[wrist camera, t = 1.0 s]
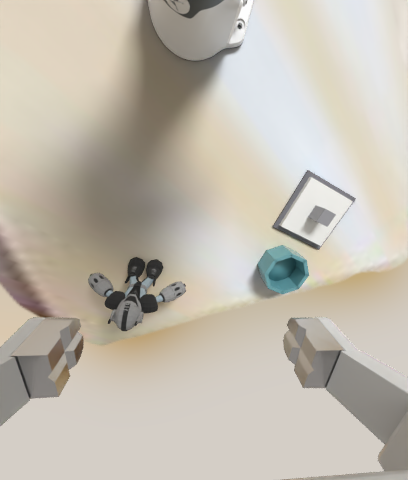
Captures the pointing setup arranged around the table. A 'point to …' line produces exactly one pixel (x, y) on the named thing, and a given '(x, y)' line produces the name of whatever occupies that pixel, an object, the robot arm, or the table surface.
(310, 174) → the mat
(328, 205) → the cover sheet
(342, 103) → the table surface
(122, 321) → the robot
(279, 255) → the bowl
